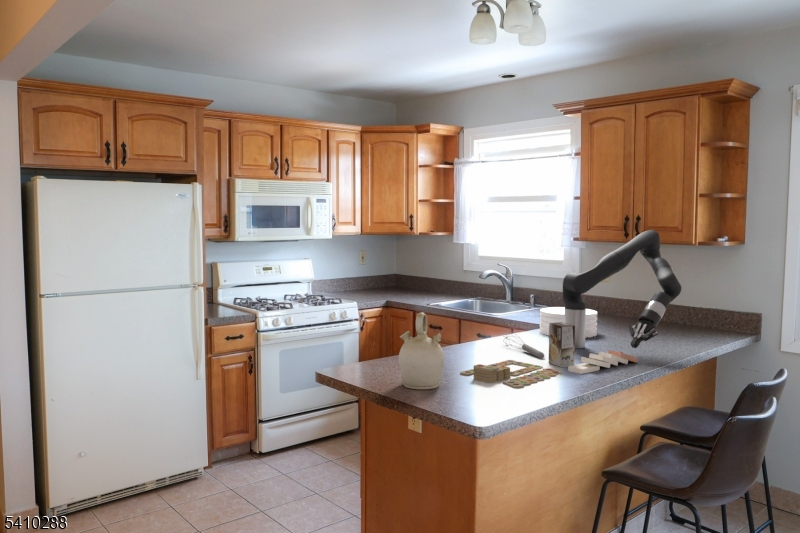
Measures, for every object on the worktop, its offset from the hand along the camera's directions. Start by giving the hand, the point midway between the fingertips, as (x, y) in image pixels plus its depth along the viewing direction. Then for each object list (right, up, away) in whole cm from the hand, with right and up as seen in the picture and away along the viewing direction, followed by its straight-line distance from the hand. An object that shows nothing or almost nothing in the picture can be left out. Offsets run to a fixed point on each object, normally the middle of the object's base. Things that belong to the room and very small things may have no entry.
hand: (633, 346), depth 258 cm
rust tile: (-1, -5, 0) cm, 5 cm away
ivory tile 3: (-15, -6, -10) cm, 19 cm away
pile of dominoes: (-53, -8, -23) cm, 58 cm away
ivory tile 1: (-6, -5, -3) cm, 9 cm away
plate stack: (-9, -2, +65) cm, 66 cm away
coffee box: (-31, -6, -7) cm, 32 cm away
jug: (-87, -8, -41) cm, 97 cm away
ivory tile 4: (-20, -6, -13) cm, 25 cm away
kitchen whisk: (-40, -5, +18) cm, 44 cm away
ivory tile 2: (-11, -5, -7) cm, 14 cm away
